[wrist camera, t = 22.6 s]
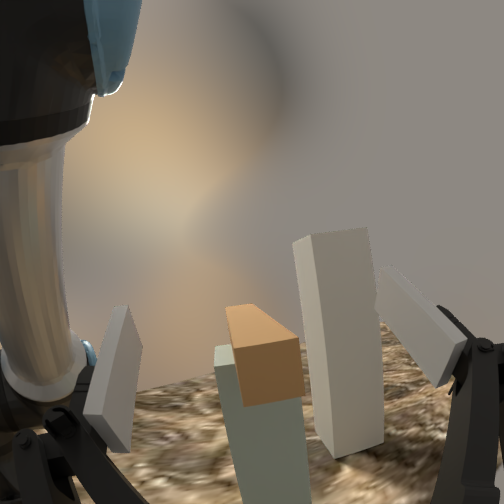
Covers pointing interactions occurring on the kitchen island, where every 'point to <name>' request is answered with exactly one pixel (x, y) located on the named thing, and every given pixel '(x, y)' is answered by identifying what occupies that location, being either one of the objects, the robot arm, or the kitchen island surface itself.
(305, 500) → the pale green tall block
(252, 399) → the bar
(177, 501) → the kitchen island surface
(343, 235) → the post
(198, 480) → the kitchen island surface
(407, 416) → the kitchen island surface
